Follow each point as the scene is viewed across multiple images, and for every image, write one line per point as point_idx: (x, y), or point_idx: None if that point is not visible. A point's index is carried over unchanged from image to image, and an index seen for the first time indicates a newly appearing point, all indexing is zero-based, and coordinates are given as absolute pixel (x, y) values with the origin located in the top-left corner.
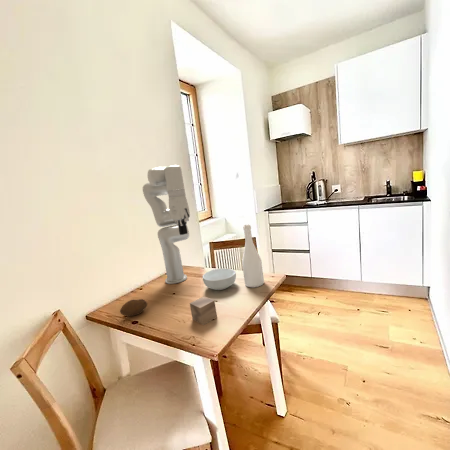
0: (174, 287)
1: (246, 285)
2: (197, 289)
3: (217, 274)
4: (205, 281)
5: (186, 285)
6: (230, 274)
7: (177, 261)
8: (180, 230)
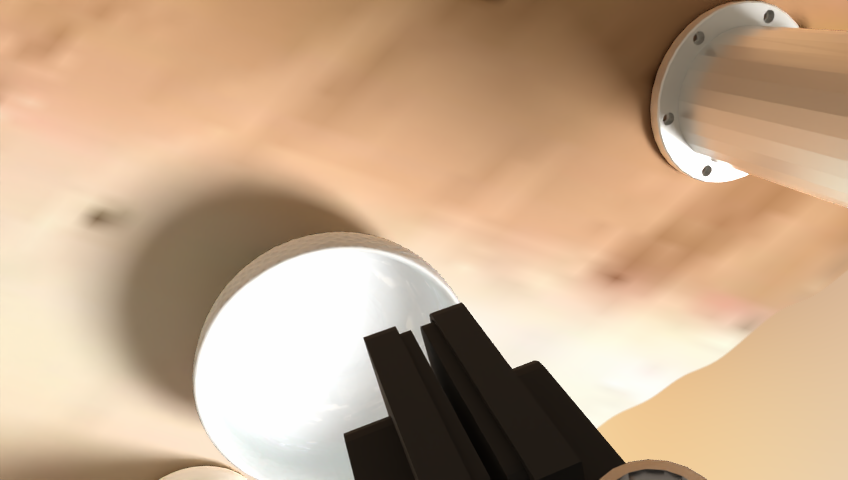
0: (600, 33)
1: (191, 468)
2: (416, 171)
3: None
4: (307, 244)
5: (558, 125)
6: None
7: (801, 152)
8: (419, 398)
